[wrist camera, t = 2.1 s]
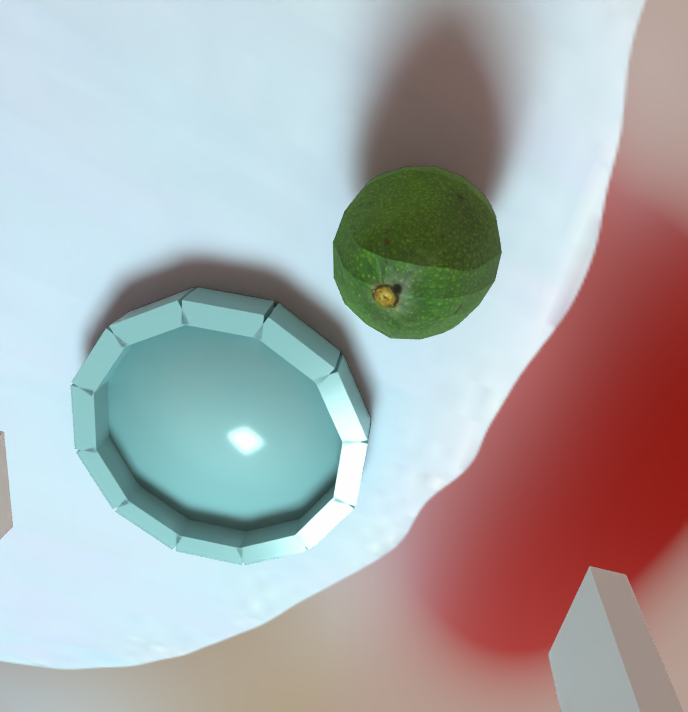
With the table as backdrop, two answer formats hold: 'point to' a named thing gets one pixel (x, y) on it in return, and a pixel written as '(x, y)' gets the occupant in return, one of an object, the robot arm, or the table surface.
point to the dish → (221, 426)
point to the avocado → (416, 252)
